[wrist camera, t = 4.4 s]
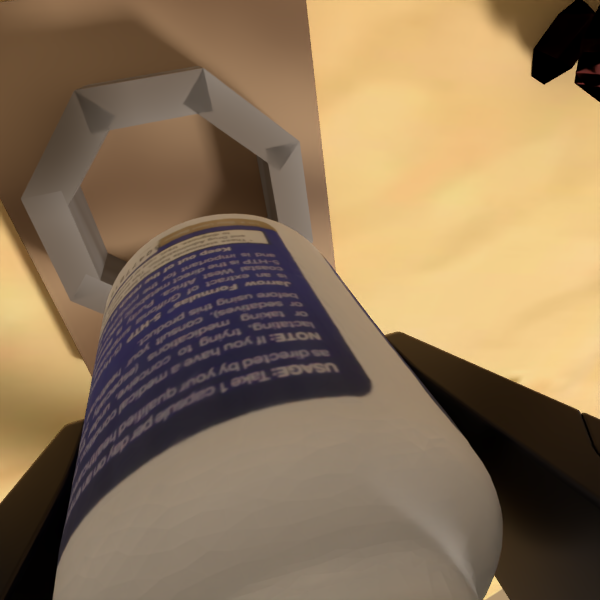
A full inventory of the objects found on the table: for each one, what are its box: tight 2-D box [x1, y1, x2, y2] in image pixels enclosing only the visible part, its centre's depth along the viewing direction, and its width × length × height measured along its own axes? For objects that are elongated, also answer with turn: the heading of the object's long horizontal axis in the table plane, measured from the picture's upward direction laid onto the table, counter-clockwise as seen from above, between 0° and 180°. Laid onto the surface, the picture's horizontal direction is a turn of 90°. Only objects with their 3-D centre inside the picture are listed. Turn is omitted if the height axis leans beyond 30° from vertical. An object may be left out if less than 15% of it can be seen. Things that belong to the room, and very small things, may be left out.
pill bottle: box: [53, 214, 503, 600], centre depth 6 cm, size 5×5×9 cm
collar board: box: [0, 0, 336, 376], centre depth 17 cm, size 14×12×4 cm
